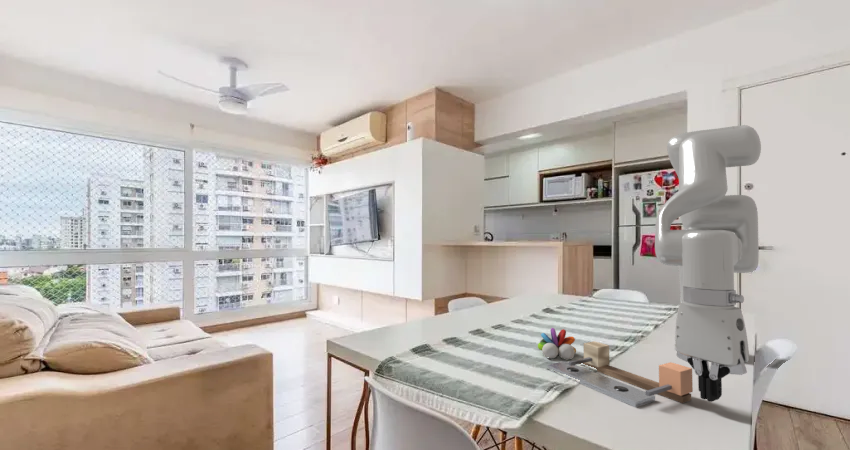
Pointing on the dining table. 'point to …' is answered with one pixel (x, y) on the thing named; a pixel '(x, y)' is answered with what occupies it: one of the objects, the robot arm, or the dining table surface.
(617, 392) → the bolt-hole strip
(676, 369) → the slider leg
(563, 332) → the rainbow fan toy
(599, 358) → the rail
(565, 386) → the dining table surface
